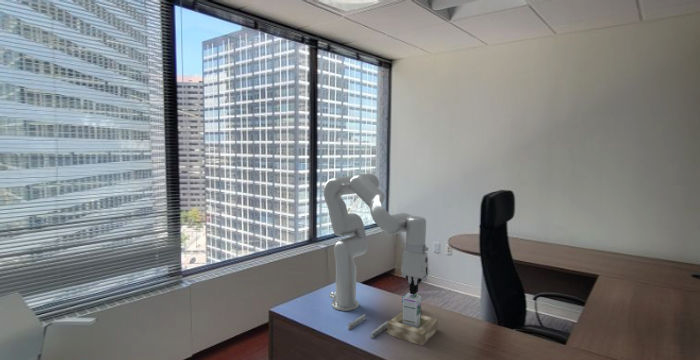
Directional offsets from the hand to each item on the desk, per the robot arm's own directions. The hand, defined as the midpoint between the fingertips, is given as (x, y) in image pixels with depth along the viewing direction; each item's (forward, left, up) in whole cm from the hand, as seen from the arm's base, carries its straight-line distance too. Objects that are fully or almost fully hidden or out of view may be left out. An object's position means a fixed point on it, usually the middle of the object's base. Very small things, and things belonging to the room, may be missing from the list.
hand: (413, 293), depth 149 cm
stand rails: (-16, -8, -16) cm, 24 cm away
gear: (-8, +16, -16) cm, 25 cm away
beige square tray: (0, 0, -16) cm, 16 cm away
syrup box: (0, 0, -16) cm, 16 cm away
